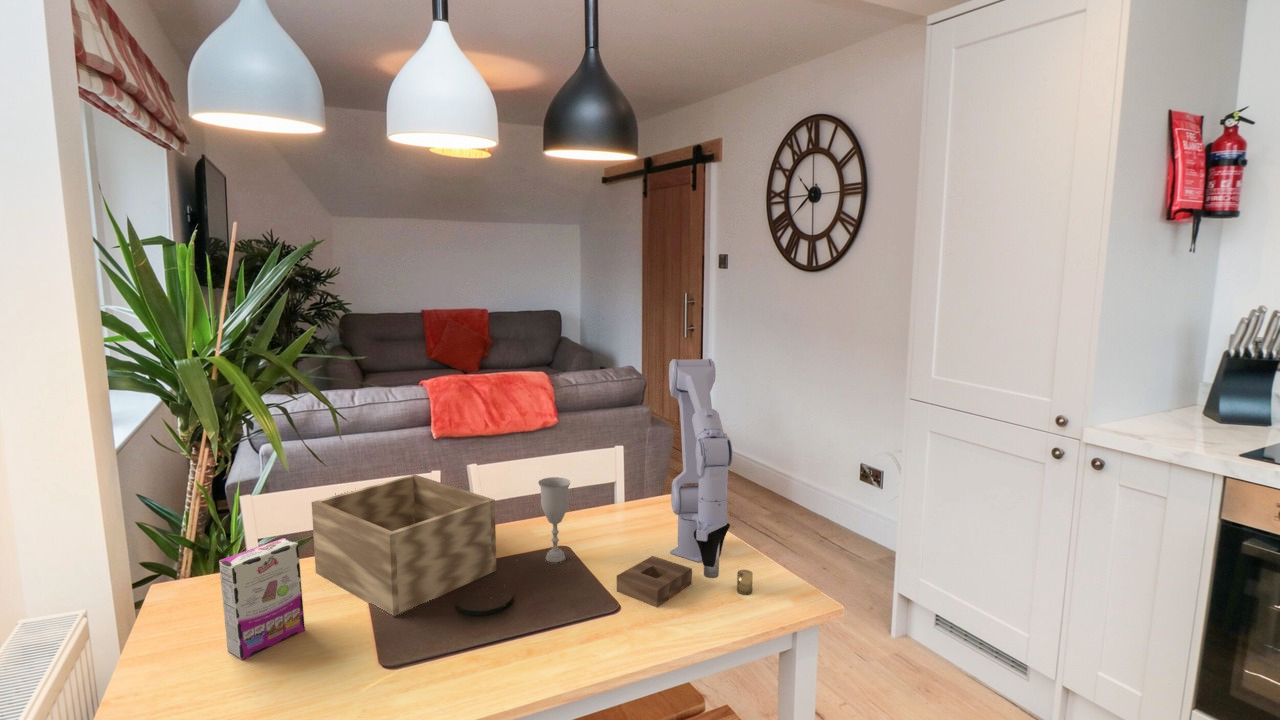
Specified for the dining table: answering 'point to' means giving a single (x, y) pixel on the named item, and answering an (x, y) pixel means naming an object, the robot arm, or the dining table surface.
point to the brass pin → (744, 582)
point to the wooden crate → (404, 541)
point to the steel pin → (713, 568)
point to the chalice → (554, 509)
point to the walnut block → (654, 581)
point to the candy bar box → (262, 597)
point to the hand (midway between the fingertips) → (711, 562)
